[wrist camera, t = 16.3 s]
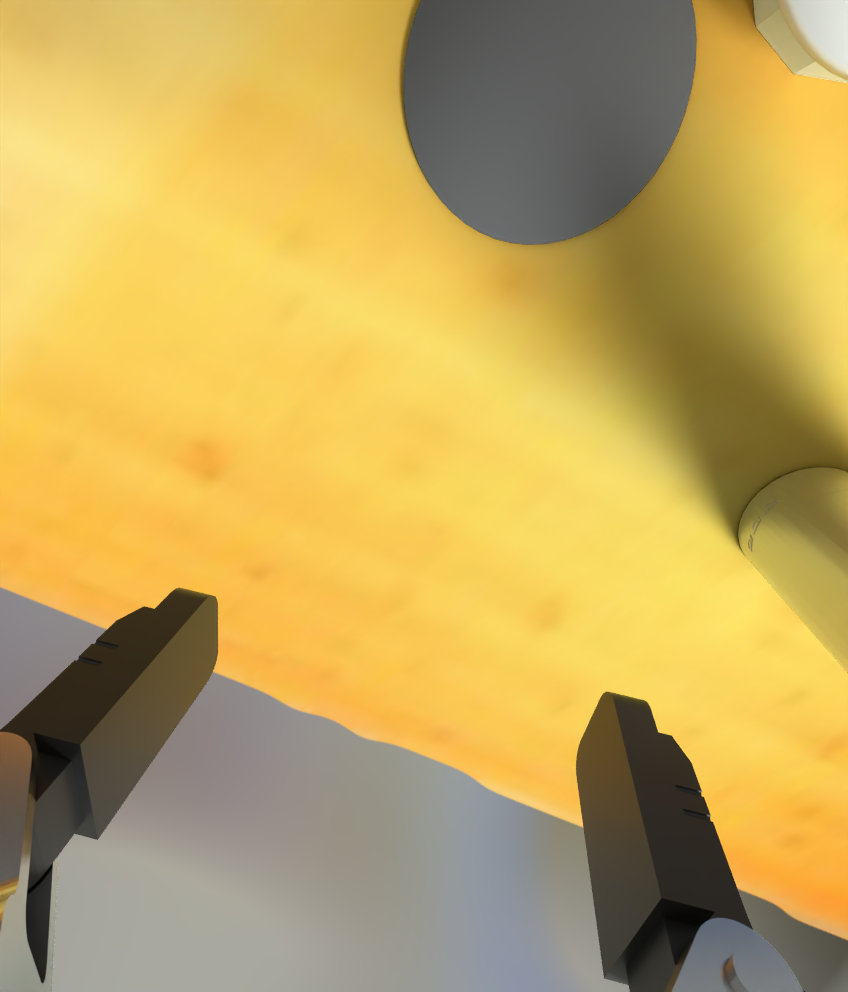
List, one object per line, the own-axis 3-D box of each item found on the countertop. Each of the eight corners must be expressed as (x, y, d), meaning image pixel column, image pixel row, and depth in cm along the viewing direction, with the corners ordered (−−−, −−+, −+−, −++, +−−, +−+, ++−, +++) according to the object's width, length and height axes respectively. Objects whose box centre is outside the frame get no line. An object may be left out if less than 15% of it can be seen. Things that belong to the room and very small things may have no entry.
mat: (744, -82, 26) (748, -87, 25) (635, 265, 33) (636, 265, 32) (429, -136, 26) (428, -141, 25) (387, 220, 33) (386, 220, 32)
